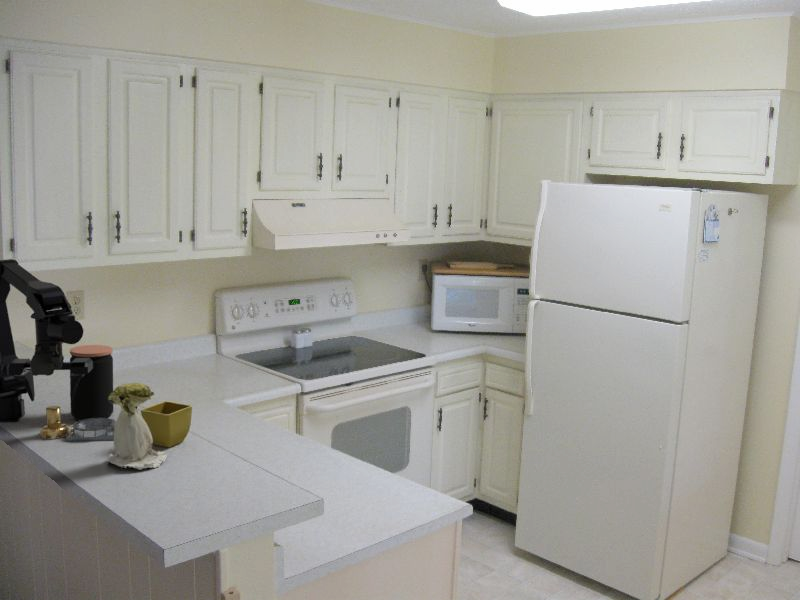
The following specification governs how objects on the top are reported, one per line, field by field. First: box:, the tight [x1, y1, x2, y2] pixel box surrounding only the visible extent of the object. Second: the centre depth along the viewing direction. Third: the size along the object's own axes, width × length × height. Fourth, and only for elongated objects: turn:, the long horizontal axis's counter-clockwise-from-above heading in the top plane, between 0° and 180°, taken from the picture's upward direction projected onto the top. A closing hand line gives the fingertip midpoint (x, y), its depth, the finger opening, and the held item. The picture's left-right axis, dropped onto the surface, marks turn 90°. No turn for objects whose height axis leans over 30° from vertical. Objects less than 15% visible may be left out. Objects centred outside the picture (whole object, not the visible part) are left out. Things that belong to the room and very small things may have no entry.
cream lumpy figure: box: [106, 382, 168, 471], centre depth 191 cm, size 12×13×18 cm
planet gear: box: [39, 405, 70, 440], centre depth 210 cm, size 6×6×7 cm
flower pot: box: [140, 400, 193, 448], centre depth 205 cm, size 9×9×9 cm
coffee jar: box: [69, 344, 114, 421], centre depth 224 cm, size 11×11×18 cm
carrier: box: [65, 417, 117, 442], centre depth 212 cm, size 19×10×2 cm, turn 96°
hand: (52, 400), depth 209 cm, fingers open, 9 cm apart
